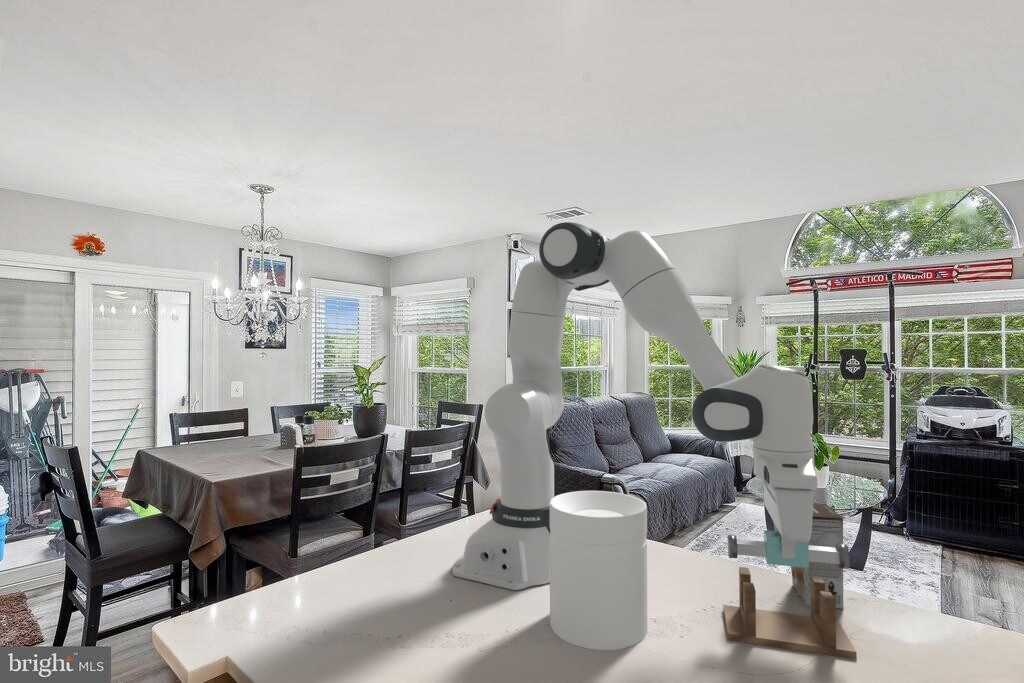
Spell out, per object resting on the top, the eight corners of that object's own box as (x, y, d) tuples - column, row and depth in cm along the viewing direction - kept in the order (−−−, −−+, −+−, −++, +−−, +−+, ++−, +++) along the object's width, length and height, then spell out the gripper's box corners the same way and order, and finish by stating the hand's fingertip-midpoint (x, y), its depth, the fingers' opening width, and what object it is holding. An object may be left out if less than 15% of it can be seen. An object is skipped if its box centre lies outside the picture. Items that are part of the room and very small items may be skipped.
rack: (728, 639, 85) (727, 588, 85) (723, 610, 95) (723, 564, 95) (856, 658, 80) (855, 603, 80) (838, 625, 89) (837, 576, 90)
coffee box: (790, 584, 105) (789, 501, 106) (826, 587, 104) (825, 503, 104) (806, 606, 96) (805, 515, 97) (846, 609, 95) (845, 517, 95)
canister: (651, 609, 95) (651, 495, 96) (642, 658, 80) (641, 522, 80) (562, 596, 100) (562, 487, 101) (538, 639, 85) (538, 511, 86)
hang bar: (729, 561, 88) (729, 533, 88) (727, 553, 92) (727, 526, 92) (850, 572, 83) (849, 543, 83) (843, 563, 87) (843, 535, 87)
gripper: (753, 453, 99) (755, 529, 98) (771, 478, 79) (773, 574, 79) (792, 454, 97) (794, 533, 96) (820, 481, 77) (822, 579, 77)
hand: (785, 552), depth 87 cm, fingers closed on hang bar, 3 cm apart
